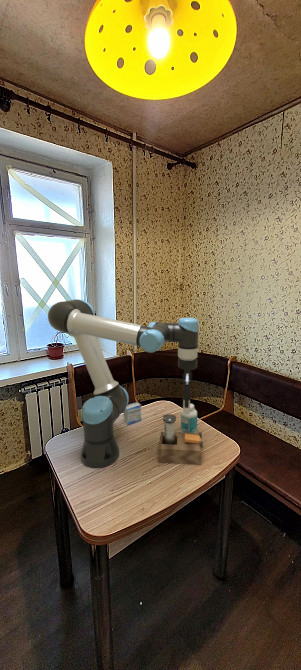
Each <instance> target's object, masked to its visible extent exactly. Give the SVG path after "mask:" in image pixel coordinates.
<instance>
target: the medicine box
mask: <svg viewBox="0 0 301 670" xmlns="http://www.w3.org/2000/svg"><path fill="white" fill-rule="evenodd" d="M122 414H123V422H124V423H125V424H126V425H128V426H130V425H134V424H135V423H139V422H141V421H142V406H141V404H140V403H139V402H133V403H128V405H127V407H126V409H125V410H124V411H123V412H122Z"/></svg>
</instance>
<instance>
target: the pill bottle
mask: <svg viewBox="0 0 301 670" xmlns="http://www.w3.org/2000/svg"><path fill="white" fill-rule="evenodd" d="M180 432H183V433H198V410H196V408H195V405H194V404H193V403H190V415H189V414H183V408H182V409H181V411H180Z"/></svg>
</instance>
